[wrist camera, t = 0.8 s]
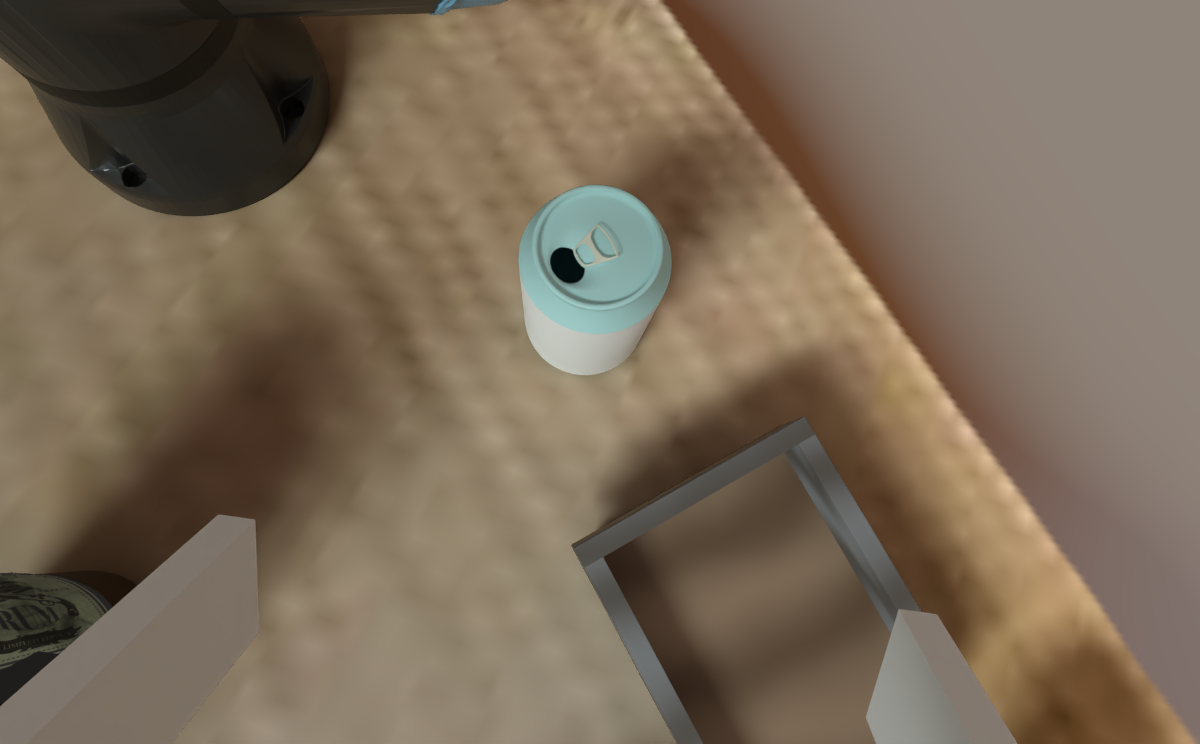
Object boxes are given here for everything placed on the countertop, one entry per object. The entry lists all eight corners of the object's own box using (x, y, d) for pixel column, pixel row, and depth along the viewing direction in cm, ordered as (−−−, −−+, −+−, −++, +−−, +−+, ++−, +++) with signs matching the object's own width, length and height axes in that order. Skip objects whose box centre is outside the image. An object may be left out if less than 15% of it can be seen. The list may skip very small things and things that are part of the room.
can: (618, 394, 42) (646, 347, 30) (507, 351, 42) (491, 287, 30) (658, 289, 43) (700, 204, 31) (551, 247, 43) (552, 147, 31)
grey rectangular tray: (569, 542, 40) (573, 548, 33) (762, 432, 42) (804, 416, 35) (732, 849, 37) (774, 924, 30) (929, 716, 39) (1009, 758, 32)
